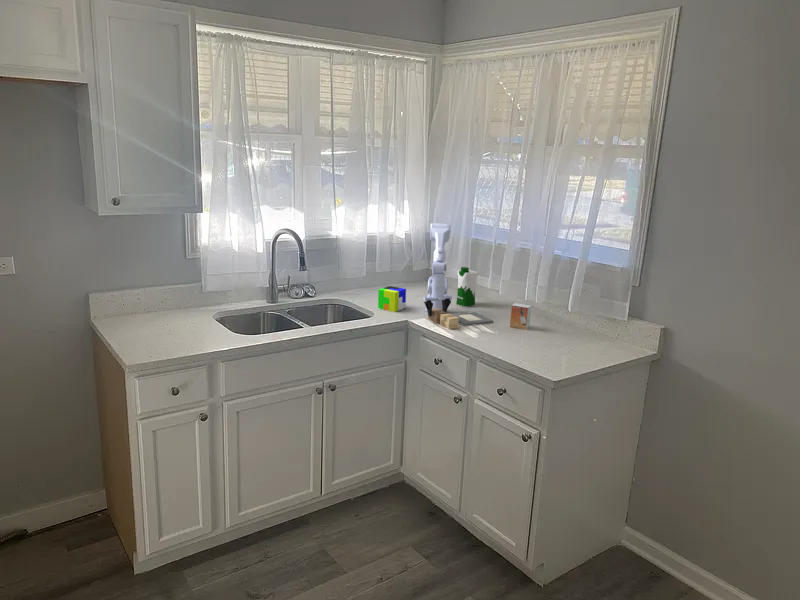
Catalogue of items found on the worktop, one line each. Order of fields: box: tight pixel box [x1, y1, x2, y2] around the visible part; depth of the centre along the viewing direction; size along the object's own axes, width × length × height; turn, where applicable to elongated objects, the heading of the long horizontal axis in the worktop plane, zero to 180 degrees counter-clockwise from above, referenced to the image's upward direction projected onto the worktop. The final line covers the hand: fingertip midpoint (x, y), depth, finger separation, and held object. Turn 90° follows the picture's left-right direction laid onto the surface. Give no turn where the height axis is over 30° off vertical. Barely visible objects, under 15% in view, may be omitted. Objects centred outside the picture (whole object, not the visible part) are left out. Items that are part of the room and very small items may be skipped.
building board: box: [451, 311, 494, 326], centre depth 293 cm, size 16×16×1 cm
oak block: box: [439, 313, 459, 330], centre depth 280 cm, size 8×5×5 cm, turn 26°
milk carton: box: [455, 266, 479, 308], centre depth 318 cm, size 9×9×20 cm
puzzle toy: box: [377, 285, 407, 313], centre depth 307 cm, size 10×10×10 cm
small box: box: [509, 302, 532, 331], centre depth 283 cm, size 8×6×10 cm
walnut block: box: [427, 308, 447, 324], centre depth 289 cm, size 8×5×5 cm, turn 25°
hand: (436, 315), depth 289 cm, fingers open, 7 cm apart
